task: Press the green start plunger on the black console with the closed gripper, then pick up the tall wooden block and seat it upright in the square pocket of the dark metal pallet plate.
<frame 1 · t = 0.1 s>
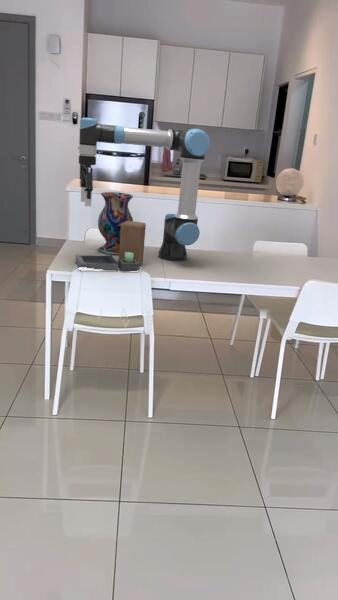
hand: (85, 203, 220), 28 cm above the table, fingers open, 13 cm apart
vase: (113, 251, 258), on the table
wooden block: (130, 264, 237), on the table
pallet: (96, 266, 226), on the table
console: (128, 269, 226), on the table
plunger: (129, 258, 224), point 5 cm above the table, slide at 0.0 cm
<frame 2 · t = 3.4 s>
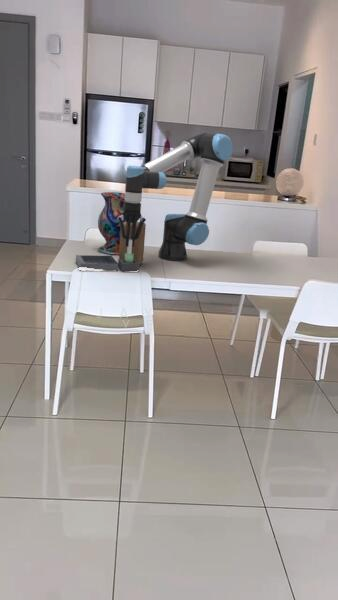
hand: (129, 253, 223), 8 cm above the table, fingers closed
plunger: (128, 259, 224), point 5 cm above the table, slide at 0.5 cm, touching gripper
everything else where it was.
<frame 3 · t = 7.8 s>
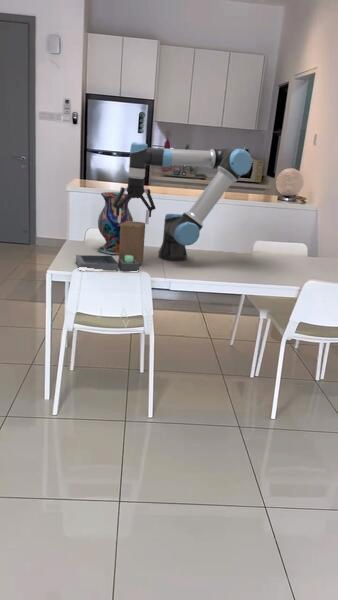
hand: (132, 223, 230), 20 cm above the table, fingers open, 13 cm apart
wooden block: (130, 263, 237), on the table, touching gripper
plunger: (128, 261, 224), point 4 cm above the table, slide at 1.5 cm
everything else where it was.
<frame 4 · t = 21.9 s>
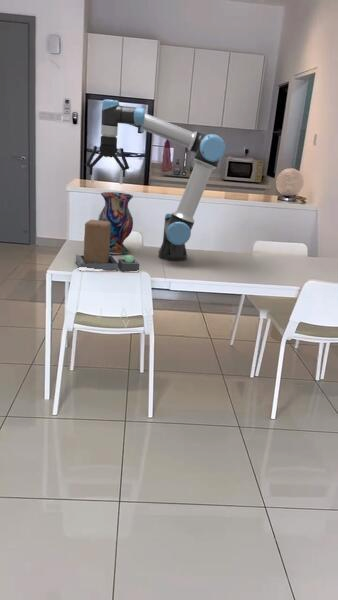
hand: (106, 183, 229), 37 cm above the table, fingers open, 13 cm apart
wooden block: (96, 265, 225), point 1 cm above the table, touching pallet
everything else where it was.
at the end: wooden block 0.2 cm from the pallet (horizontally); wooden block tilted 0°; plunger slide at 1.5 cm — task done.
